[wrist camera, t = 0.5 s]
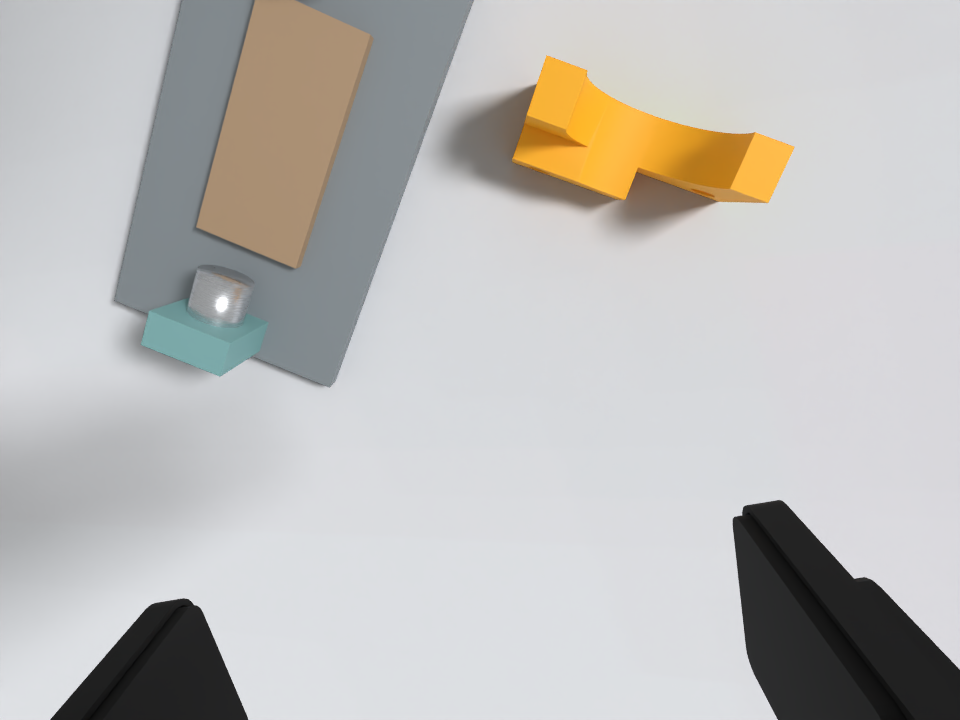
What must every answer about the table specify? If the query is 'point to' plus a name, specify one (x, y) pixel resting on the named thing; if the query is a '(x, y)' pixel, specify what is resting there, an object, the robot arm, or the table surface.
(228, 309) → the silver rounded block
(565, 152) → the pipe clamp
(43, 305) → the table surface
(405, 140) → the stand
